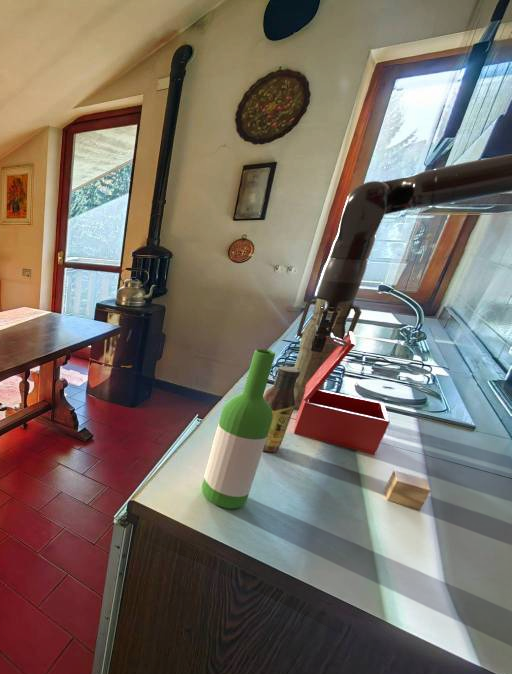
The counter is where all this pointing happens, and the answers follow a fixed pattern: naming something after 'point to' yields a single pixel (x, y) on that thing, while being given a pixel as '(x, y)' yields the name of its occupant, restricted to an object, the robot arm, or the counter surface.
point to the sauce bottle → (280, 405)
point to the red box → (343, 421)
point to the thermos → (313, 360)
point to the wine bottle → (240, 438)
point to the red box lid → (329, 362)
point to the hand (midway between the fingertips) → (316, 348)
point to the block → (407, 489)
